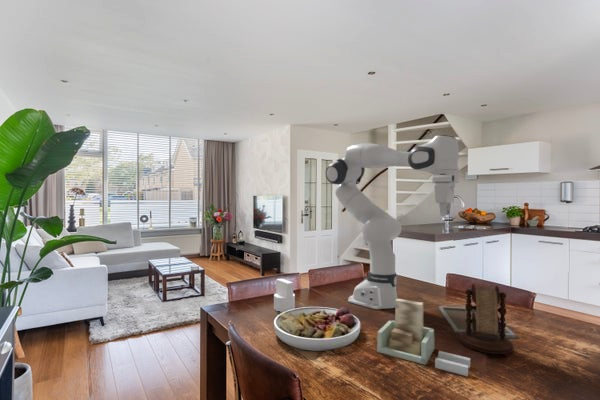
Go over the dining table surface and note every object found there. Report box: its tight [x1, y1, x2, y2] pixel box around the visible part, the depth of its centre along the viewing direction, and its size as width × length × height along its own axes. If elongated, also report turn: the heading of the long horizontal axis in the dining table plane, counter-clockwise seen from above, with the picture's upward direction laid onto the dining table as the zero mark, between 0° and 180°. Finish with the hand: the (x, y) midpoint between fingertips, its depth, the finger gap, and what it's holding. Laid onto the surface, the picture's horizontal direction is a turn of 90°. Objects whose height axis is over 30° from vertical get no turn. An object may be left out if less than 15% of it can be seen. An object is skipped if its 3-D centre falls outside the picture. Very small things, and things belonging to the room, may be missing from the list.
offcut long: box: [390, 338, 421, 356], centre depth 99 cm, size 9×3×3 cm, turn 57°
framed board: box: [438, 305, 517, 339], centre depth 127 cm, size 19×2×30 cm
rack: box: [376, 319, 435, 366], centre depth 100 cm, size 14×12×7 cm
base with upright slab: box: [273, 278, 296, 313], centre depth 140 cm, size 9×9×12 cm
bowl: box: [273, 306, 361, 352], centre depth 114 cm, size 30×30×8 cm
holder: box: [434, 350, 471, 377], centre depth 90 cm, size 8×6×3 cm
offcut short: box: [391, 328, 414, 344], centre depth 100 cm, size 6×3×2 cm, turn 57°
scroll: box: [459, 283, 514, 358], centre depth 104 cm, size 15×15×20 cm
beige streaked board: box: [394, 298, 424, 342], centre depth 102 cm, size 8×2×14 cm, turn 57°
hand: (445, 215), depth 121 cm, fingers open, 8 cm apart
